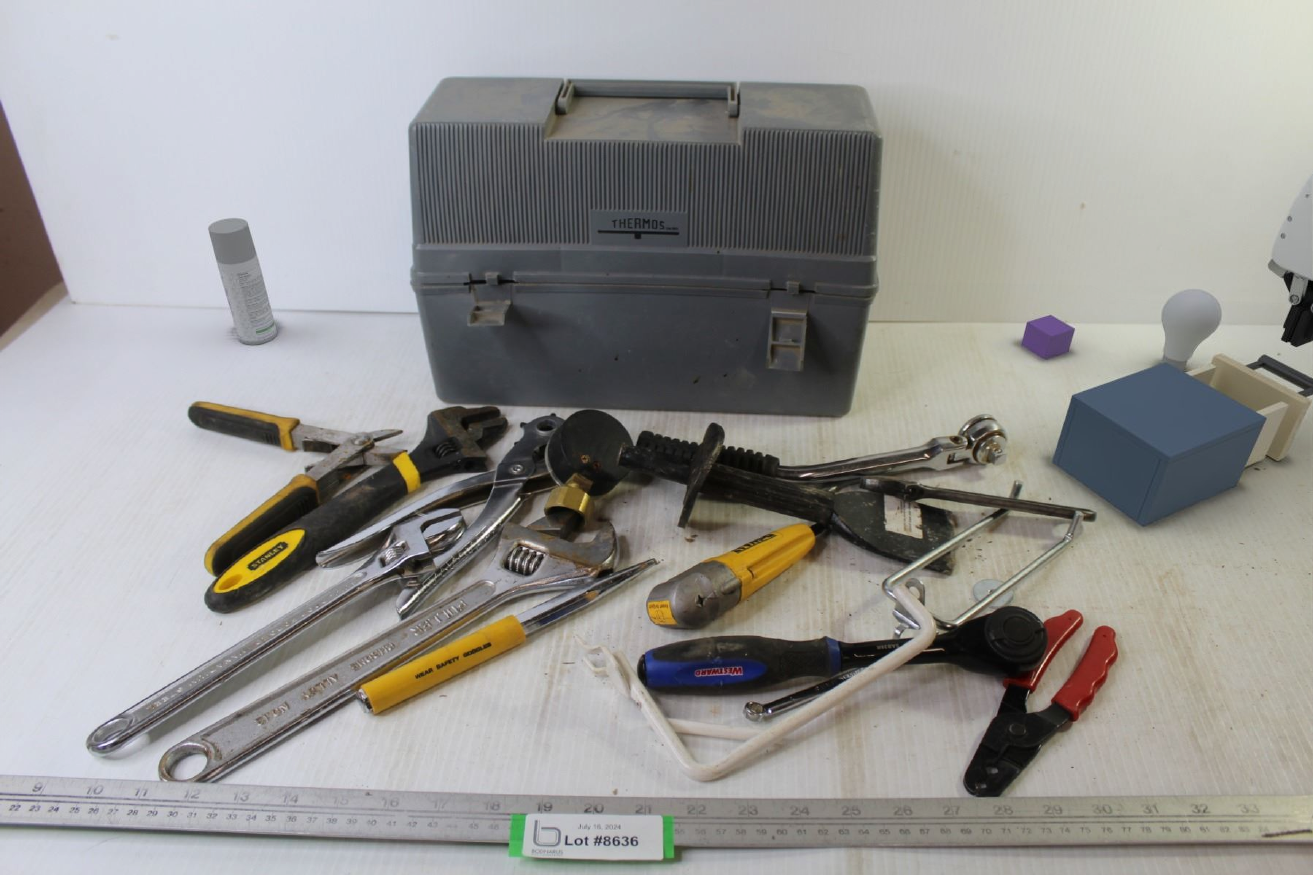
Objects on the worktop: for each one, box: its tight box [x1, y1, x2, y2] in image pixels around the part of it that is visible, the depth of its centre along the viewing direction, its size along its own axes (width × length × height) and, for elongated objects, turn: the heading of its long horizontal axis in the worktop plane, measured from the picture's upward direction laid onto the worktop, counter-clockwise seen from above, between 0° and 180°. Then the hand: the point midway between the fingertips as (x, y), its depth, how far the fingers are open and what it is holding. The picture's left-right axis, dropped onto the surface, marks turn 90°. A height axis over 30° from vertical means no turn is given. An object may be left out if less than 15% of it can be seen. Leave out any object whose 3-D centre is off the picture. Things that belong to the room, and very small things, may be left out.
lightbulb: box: [1160, 288, 1223, 372], centre depth 113 cm, size 6×6×11 cm
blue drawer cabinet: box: [1051, 362, 1267, 528], centre depth 97 cm, size 14×12×9 cm
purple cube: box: [1020, 314, 1076, 361], centre depth 119 cm, size 4×4×4 cm
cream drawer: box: [1185, 353, 1313, 468], centre depth 102 cm, size 18×10×7 cm, turn 118°
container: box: [207, 217, 278, 346], centre depth 119 cm, size 5×5×15 cm
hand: (1297, 340), depth 100 cm, fingers closed
